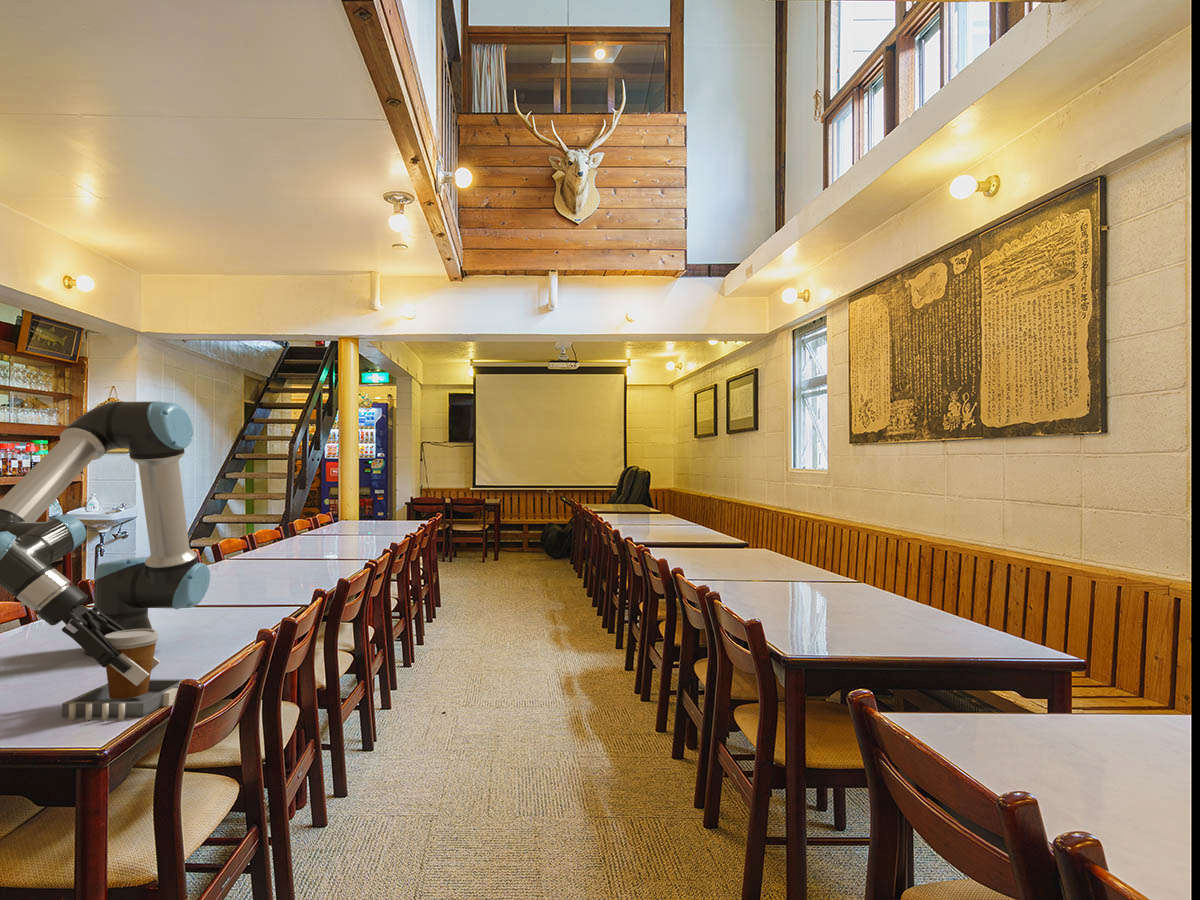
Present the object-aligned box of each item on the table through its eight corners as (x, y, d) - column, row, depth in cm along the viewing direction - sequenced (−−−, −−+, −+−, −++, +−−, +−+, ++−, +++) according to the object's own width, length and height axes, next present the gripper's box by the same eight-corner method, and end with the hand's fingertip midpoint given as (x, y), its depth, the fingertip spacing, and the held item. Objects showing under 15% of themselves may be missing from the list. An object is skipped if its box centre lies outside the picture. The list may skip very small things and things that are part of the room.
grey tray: (115, 691, 143) (116, 677, 143) (194, 691, 143) (194, 677, 143) (53, 721, 126) (53, 704, 126) (142, 721, 126) (143, 704, 126)
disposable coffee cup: (118, 687, 140) (120, 628, 140) (167, 686, 141) (168, 627, 141) (87, 702, 130) (89, 639, 131) (139, 701, 131) (141, 638, 132)
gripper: (57, 602, 140) (146, 673, 146) (13, 624, 121) (117, 705, 126) (89, 575, 143) (175, 646, 148) (50, 592, 123) (152, 673, 128)
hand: (148, 673), depth 137 cm, fingers closed on disposable coffee cup, 9 cm apart
